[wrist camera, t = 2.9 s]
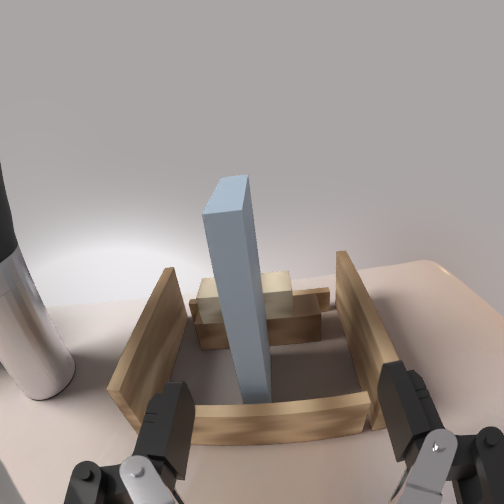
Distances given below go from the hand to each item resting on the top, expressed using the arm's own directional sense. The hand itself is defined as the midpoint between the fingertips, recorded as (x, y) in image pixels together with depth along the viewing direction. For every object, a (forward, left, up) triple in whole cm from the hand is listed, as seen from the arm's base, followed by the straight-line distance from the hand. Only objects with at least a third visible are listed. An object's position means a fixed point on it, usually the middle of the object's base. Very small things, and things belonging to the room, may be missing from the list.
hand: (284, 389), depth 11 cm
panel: (-3, +13, -15) cm, 20 cm away
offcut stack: (-3, +21, -15) cm, 26 cm away
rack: (-3, +15, -15) cm, 22 cm away
